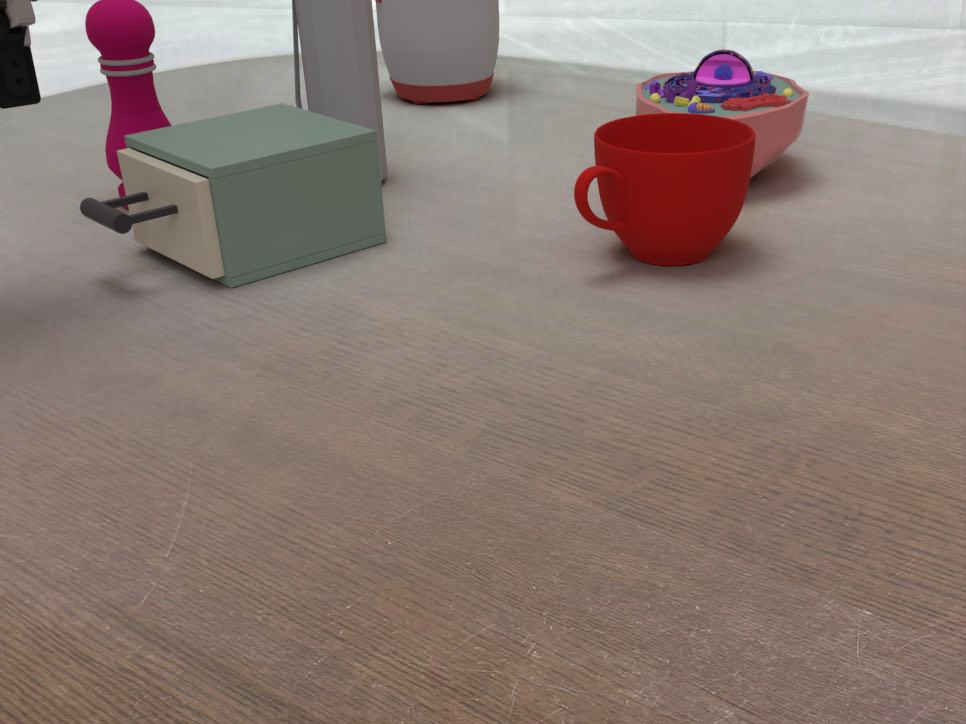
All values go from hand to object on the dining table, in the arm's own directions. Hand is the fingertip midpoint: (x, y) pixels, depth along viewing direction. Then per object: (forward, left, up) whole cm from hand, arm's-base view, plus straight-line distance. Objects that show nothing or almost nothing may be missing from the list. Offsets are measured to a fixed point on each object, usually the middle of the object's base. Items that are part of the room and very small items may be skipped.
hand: (16, 103), depth 88 cm
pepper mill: (+17, +19, -15) cm, 30 cm away
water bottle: (+34, +11, -15) cm, 39 cm away
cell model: (+61, -15, -15) cm, 65 cm away
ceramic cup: (+39, -27, -15) cm, 50 cm away
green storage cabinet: (+18, 0, -15) cm, 24 cm away
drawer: (+14, 0, -14) cm, 20 cm away
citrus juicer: (+64, +34, -15) cm, 74 cm away
